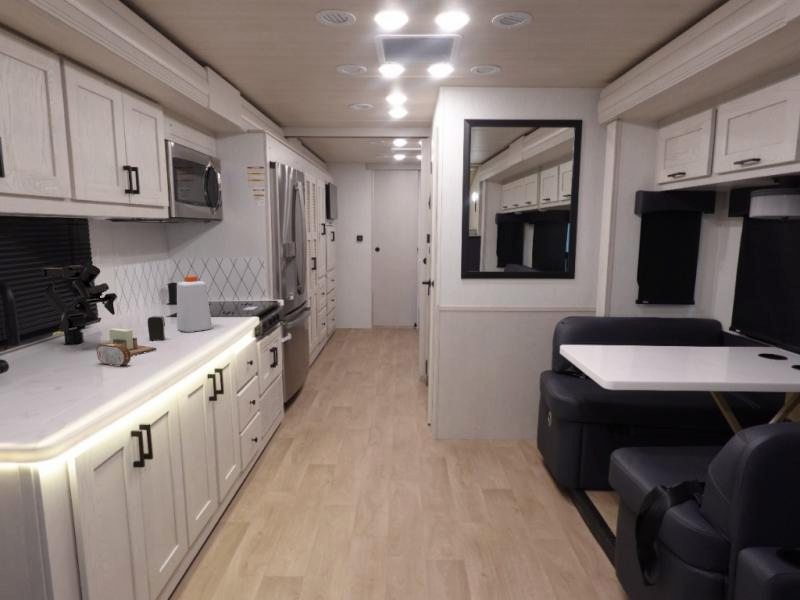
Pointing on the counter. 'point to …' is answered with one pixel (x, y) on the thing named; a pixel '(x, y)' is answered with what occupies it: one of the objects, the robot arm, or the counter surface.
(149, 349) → the wooden channel stand
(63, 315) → the robot arm
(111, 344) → the tin
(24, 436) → the counter surface
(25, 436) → the counter surface
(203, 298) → the plastic bottle
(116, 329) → the bar
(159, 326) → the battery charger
